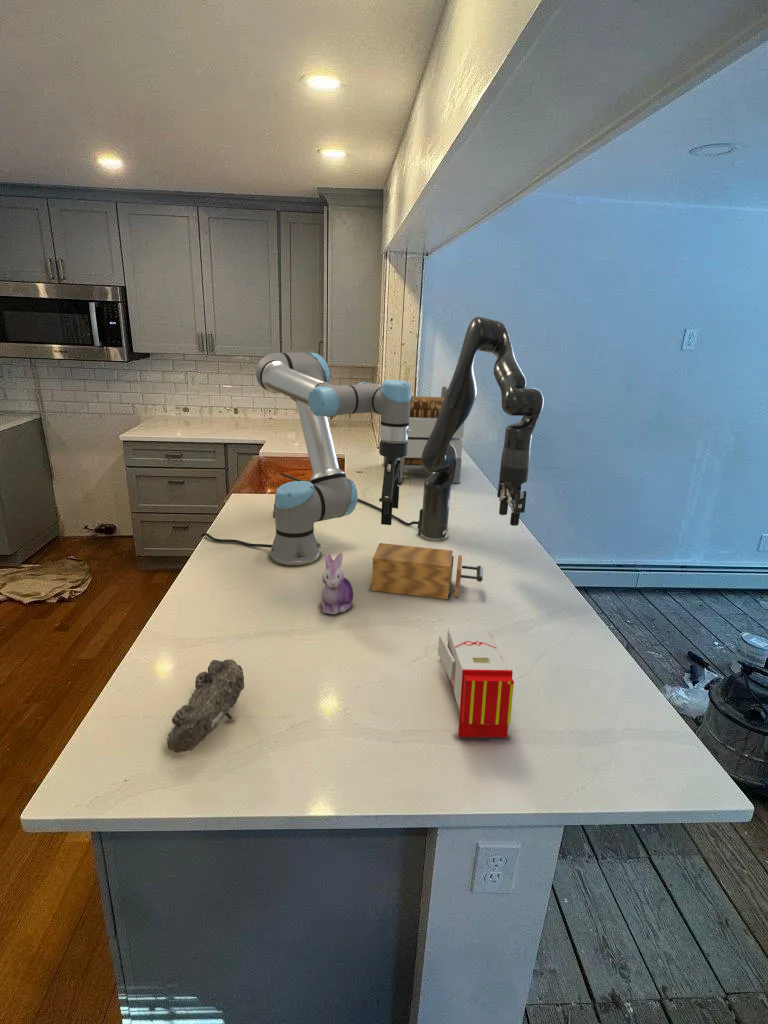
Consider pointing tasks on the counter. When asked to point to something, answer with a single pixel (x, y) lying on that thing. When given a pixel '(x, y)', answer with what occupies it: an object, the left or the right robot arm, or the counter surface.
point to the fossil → (206, 705)
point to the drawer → (459, 576)
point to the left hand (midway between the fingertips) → (389, 515)
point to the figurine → (335, 587)
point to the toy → (478, 682)
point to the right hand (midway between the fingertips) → (508, 519)
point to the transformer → (427, 431)
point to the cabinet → (412, 570)
